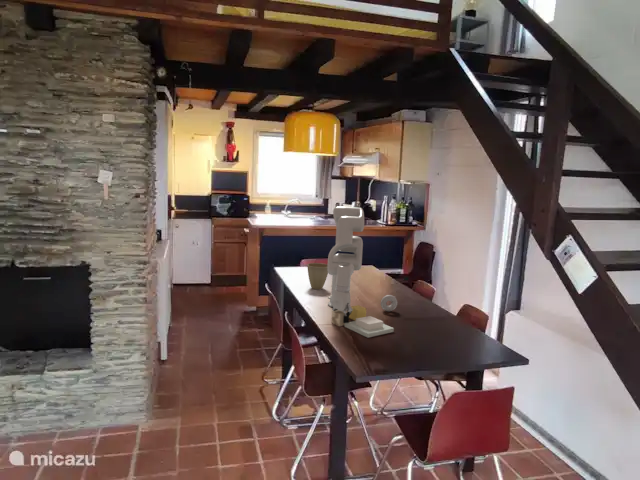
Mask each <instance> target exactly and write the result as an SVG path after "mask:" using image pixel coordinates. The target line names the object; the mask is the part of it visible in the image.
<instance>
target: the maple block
mask: <svg viewBox="0 0 640 480" xmlns="http://www.w3.org/2000/svg"><path fill="white" fill-rule="evenodd" d="M346 313H347V311H346ZM344 316H345V314H344V311H340V310H336V311H333V310H331V322H330V323H331V324H333V325H336V326H338V327H342V326H345V323H343V320H344Z"/></svg>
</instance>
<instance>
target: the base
mask: <svg viewBox="0 0 640 480" xmlns="http://www.w3.org/2000/svg"><path fill="white" fill-rule="evenodd" d="M344 328H346V329H348V330H350V331H353V332H355V333H357V334H358V335H361V336H363V337H366V338H372V337H377V336H381V335H386V334H390V333H394V332H395V331H394V330H395V328H394V327H392V326H389V325H387V324H385V323H384V320H381V319H379V318H376V317H374V316H371V315H368V316H367V315H366V317H362V318H356V321H355V320H352V321H349V322H348V323H345V325H344Z"/></svg>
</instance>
